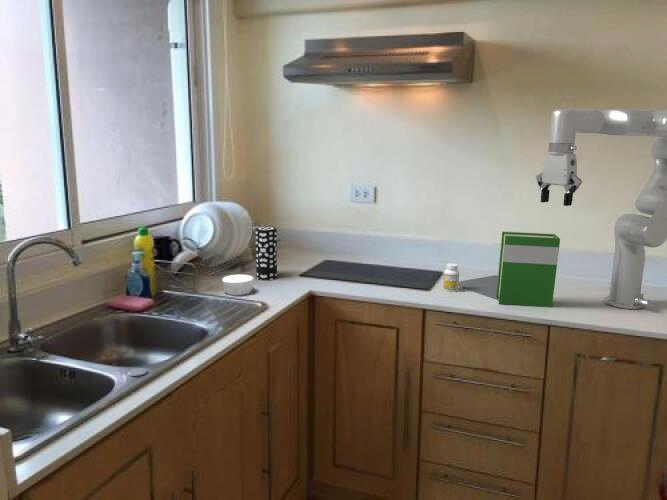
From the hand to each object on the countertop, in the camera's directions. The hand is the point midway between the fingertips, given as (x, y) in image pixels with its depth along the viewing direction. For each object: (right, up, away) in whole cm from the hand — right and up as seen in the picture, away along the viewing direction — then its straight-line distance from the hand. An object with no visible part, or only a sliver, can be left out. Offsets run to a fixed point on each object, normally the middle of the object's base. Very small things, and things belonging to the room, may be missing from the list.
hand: (555, 203), depth 183 cm
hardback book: (-5, -33, +16) cm, 37 cm away
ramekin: (-107, -31, +24) cm, 114 cm away
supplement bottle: (-28, -30, +30) cm, 51 cm away
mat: (-9, -29, +33) cm, 45 cm away
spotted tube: (-98, -26, +44) cm, 111 cm away
